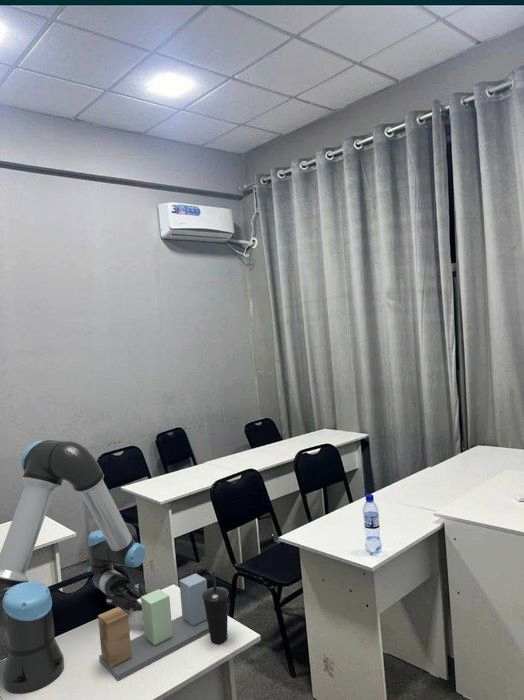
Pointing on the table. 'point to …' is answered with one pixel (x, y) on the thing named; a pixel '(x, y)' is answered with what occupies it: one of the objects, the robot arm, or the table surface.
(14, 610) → the robot arm
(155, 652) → the grey flat board
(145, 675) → the table surface
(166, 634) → the pale green block
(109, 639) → the brown wooden block
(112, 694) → the table surface
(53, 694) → the table surface
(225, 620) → the drinking cup
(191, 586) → the blue-grey tall block
